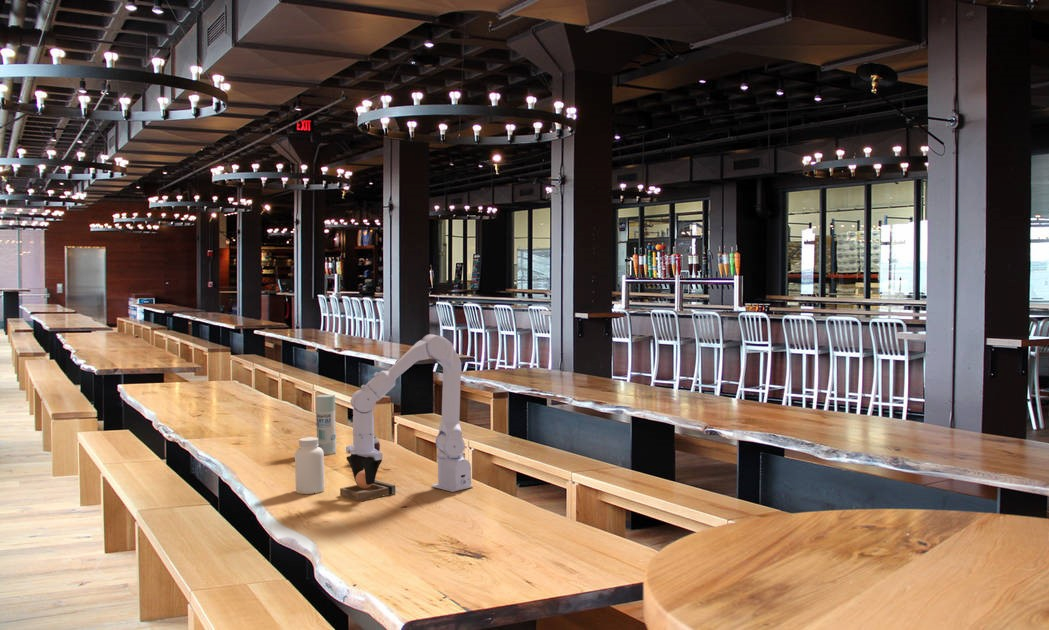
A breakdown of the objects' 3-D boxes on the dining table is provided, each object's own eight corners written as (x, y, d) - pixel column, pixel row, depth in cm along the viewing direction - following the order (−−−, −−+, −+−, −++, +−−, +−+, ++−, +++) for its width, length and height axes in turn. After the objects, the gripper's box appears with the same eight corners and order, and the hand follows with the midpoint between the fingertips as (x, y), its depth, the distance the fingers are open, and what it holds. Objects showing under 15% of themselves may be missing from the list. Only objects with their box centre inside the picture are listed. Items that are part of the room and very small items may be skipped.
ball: (377, 488, 241) (377, 470, 240) (362, 491, 237) (362, 473, 237) (366, 485, 244) (366, 467, 244) (351, 488, 240) (351, 470, 240)
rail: (395, 494, 241) (395, 485, 241) (391, 495, 240) (391, 486, 240) (370, 487, 250) (369, 478, 250) (366, 488, 249) (366, 479, 249)
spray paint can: (339, 451, 302) (337, 394, 301) (331, 455, 296) (330, 397, 295) (321, 451, 303) (320, 394, 303) (313, 455, 297) (312, 396, 296)
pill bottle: (289, 493, 244) (288, 440, 243) (306, 487, 251) (305, 435, 250) (314, 495, 241) (312, 442, 240) (330, 489, 248) (329, 436, 248)
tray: (389, 494, 241) (389, 487, 241) (360, 501, 234) (360, 494, 234) (368, 489, 247) (368, 482, 247) (340, 495, 241) (340, 488, 240)
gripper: (336, 432, 242) (337, 480, 243) (366, 438, 232) (367, 489, 233) (357, 429, 247) (358, 476, 248) (388, 435, 237) (389, 484, 238)
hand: (364, 482), depth 240 cm, fingers closed on ball, 5 cm apart
